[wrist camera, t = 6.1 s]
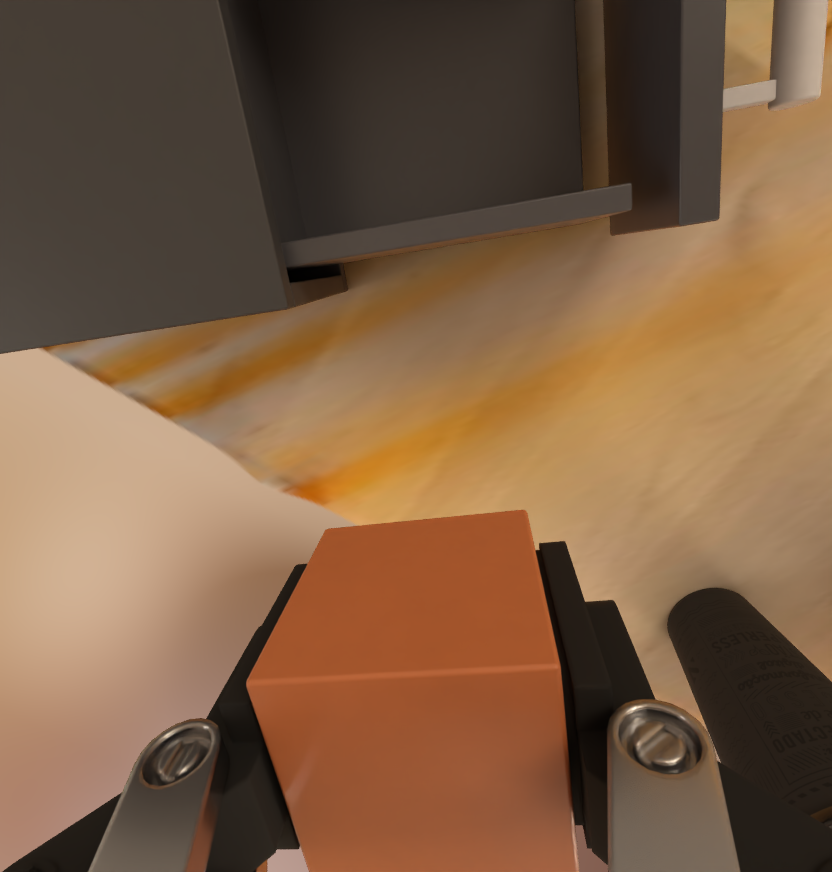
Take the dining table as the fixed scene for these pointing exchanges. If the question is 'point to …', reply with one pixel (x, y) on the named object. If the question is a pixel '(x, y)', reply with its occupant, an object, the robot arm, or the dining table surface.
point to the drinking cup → (757, 698)
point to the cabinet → (132, 175)
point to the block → (421, 702)
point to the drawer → (493, 116)
